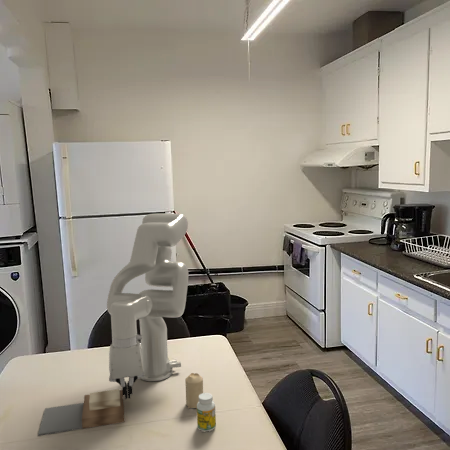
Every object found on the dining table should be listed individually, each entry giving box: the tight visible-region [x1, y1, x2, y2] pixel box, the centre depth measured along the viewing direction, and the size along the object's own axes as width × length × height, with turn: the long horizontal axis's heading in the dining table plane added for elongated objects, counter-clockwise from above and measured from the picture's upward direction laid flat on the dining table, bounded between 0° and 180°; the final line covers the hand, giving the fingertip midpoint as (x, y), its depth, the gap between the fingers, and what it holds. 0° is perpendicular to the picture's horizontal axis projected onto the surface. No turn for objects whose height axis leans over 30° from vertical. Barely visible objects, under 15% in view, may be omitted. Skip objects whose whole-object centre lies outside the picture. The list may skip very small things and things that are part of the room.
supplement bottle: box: [196, 392, 217, 432], centre depth 126 cm, size 5×5×10 cm
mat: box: [37, 402, 84, 437], centre depth 132 cm, size 12×14×1 cm
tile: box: [89, 388, 121, 411], centre depth 135 cm, size 9×6×2 cm, turn 105°
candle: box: [185, 372, 204, 409], centre depth 138 cm, size 6×6×10 cm
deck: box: [81, 389, 126, 430], centre depth 135 cm, size 12×14×3 cm
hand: (127, 396), depth 136 cm, fingers closed
